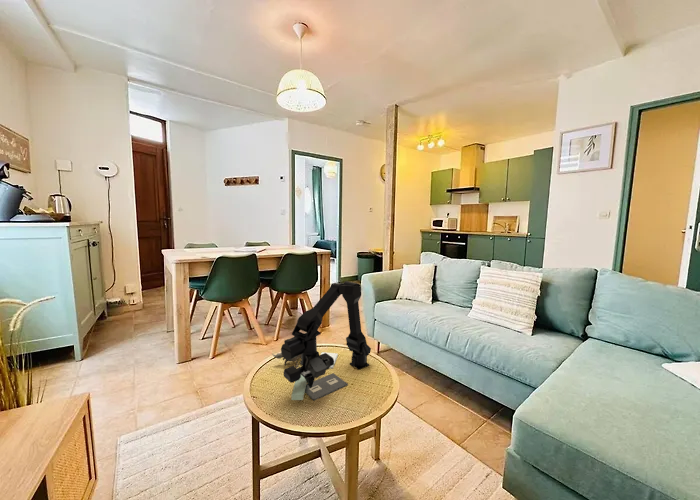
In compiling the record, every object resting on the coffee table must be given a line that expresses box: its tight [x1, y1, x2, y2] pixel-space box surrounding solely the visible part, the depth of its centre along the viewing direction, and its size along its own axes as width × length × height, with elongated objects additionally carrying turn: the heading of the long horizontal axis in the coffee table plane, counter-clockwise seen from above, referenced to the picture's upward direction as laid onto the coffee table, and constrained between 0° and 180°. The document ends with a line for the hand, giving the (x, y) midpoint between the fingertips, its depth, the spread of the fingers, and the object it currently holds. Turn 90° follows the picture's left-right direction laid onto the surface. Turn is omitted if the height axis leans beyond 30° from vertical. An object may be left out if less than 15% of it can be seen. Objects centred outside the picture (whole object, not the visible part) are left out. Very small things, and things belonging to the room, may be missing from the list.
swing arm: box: [291, 375, 307, 401], centre depth 110 cm, size 18×4×2 cm, turn 2°
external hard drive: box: [320, 351, 339, 370], centre depth 134 cm, size 2×8×12 cm
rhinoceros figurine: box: [271, 352, 301, 368], centre depth 131 cm, size 8×14×15 cm
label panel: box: [304, 373, 349, 402], centre depth 116 cm, size 16×15×2 cm
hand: (310, 387), depth 109 cm, fingers closed
